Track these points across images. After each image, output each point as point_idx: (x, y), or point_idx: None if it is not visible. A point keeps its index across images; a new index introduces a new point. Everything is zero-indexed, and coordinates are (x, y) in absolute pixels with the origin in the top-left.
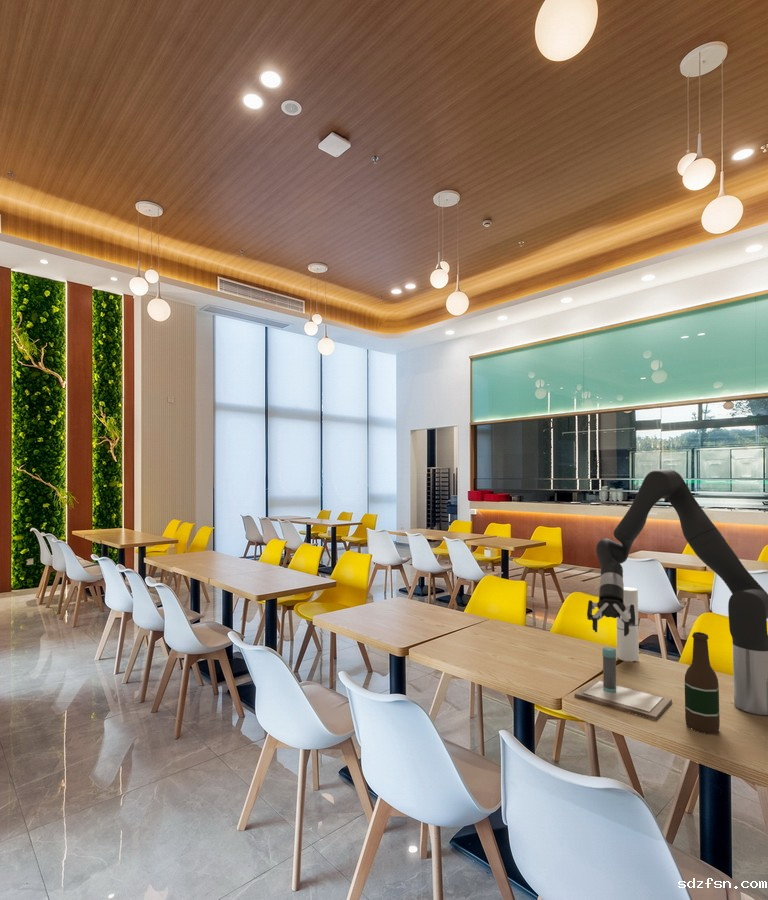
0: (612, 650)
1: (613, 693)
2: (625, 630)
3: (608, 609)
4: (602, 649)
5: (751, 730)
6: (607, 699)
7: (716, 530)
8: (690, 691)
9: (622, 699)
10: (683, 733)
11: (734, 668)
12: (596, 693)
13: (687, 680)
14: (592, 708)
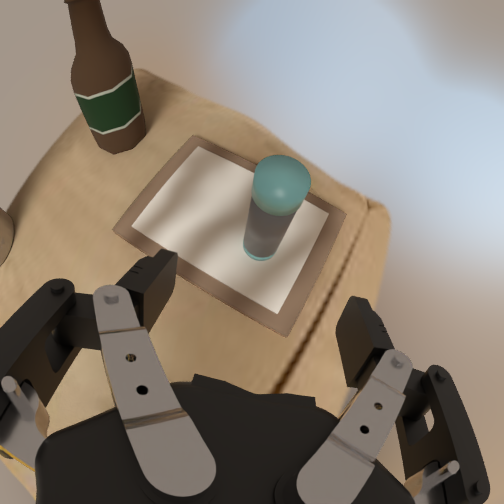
0: (271, 164)
1: None
2: (163, 253)
3: (283, 444)
4: (309, 182)
5: (54, 151)
6: None
7: None
8: (133, 74)
9: (239, 192)
10: (167, 112)
11: None
12: (298, 215)
13: (129, 64)
14: (308, 168)
